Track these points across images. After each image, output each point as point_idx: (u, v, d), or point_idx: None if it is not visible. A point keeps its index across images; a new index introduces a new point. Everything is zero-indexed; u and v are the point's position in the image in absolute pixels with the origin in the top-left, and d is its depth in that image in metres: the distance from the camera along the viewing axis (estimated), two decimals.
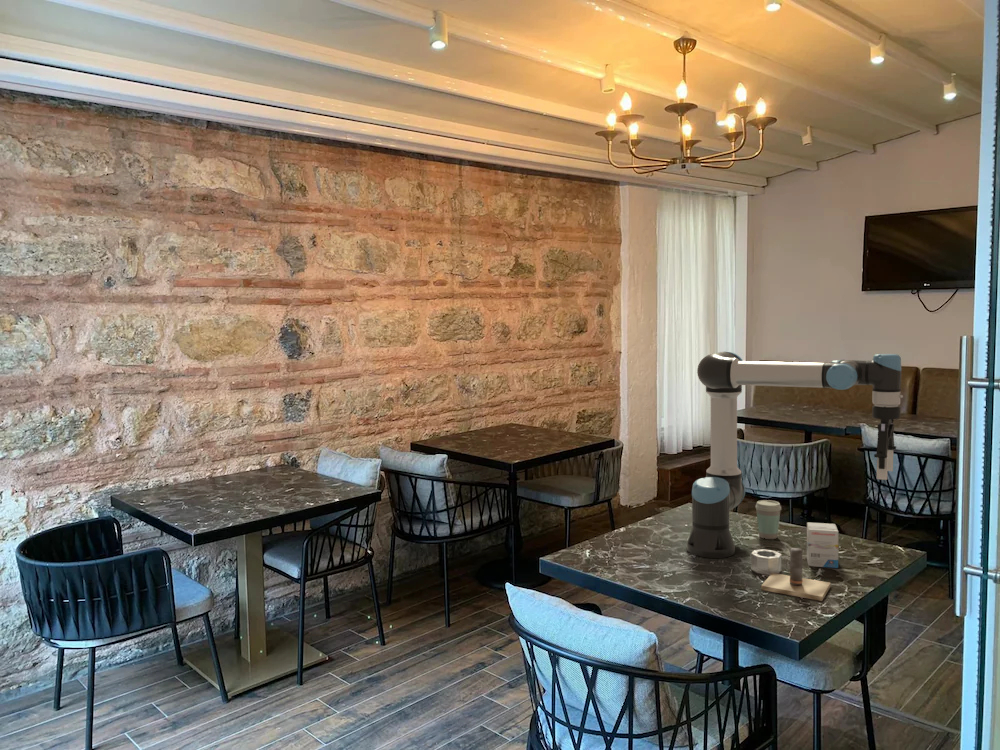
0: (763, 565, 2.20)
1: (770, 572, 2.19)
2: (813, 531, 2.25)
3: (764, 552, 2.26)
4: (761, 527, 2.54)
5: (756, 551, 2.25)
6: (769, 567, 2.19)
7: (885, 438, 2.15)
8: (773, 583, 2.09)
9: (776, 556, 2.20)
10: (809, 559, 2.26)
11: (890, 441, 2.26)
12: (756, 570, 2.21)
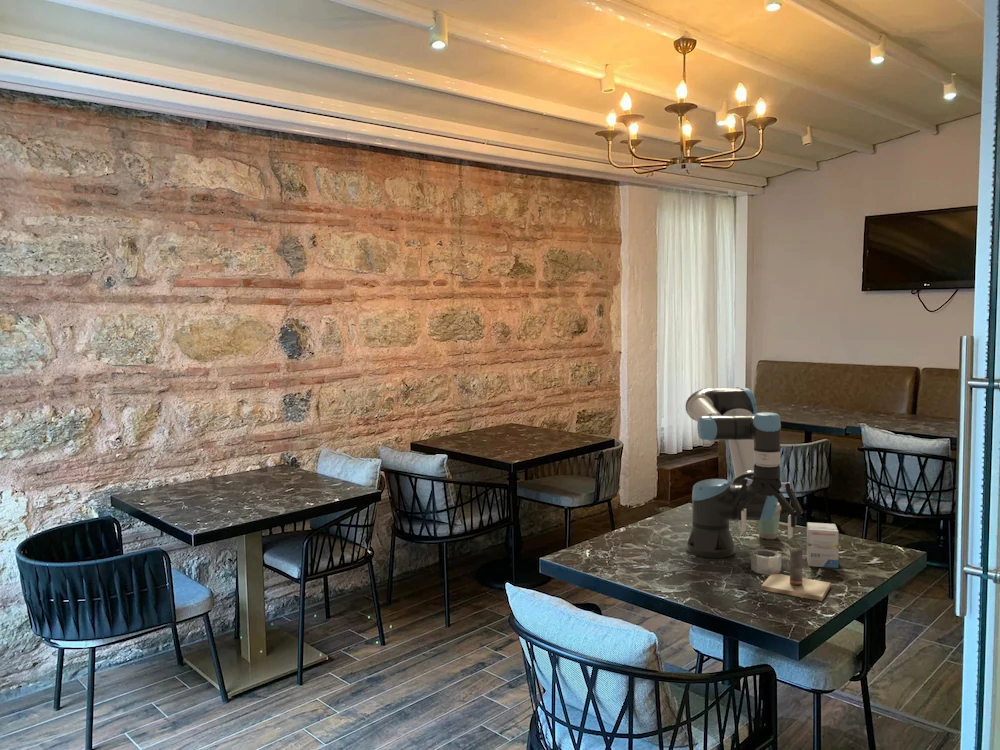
0: (763, 565, 2.20)
1: (770, 572, 2.19)
2: (813, 531, 2.25)
3: (764, 552, 2.26)
4: (761, 527, 2.54)
5: (756, 551, 2.25)
6: (769, 567, 2.19)
7: None
8: (773, 583, 2.09)
9: (776, 556, 2.20)
10: (809, 559, 2.26)
11: None
12: (756, 570, 2.21)
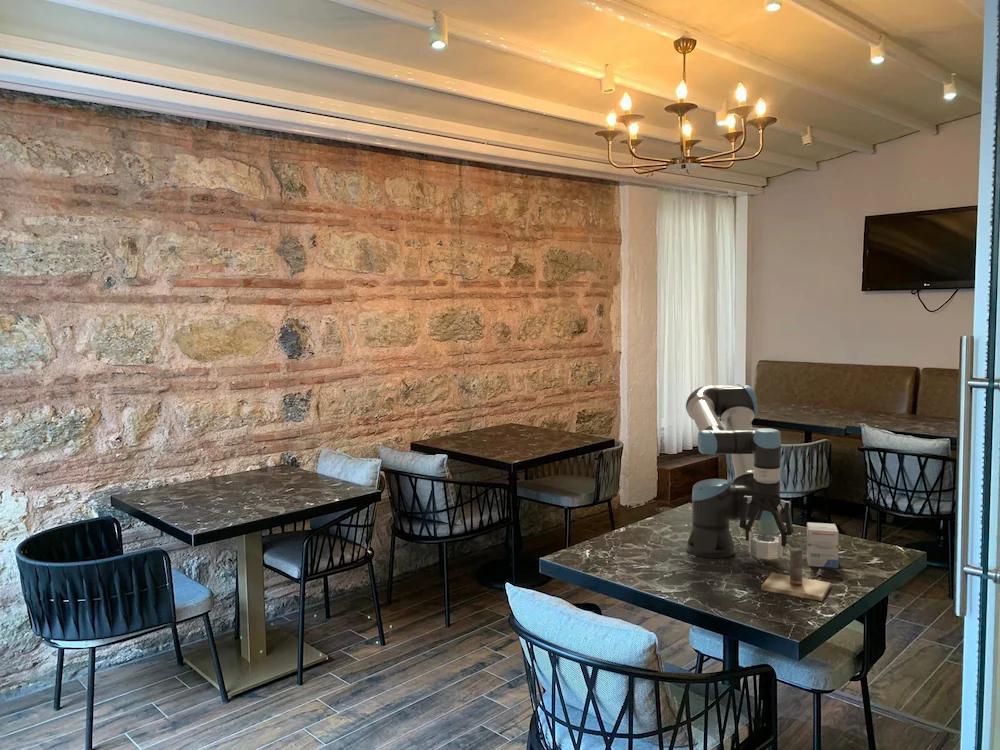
0: (763, 550, 2.20)
1: (769, 557, 2.20)
2: (813, 531, 2.25)
3: (764, 537, 2.26)
4: (761, 527, 2.54)
5: (756, 536, 2.25)
6: (768, 552, 2.19)
7: None
8: (773, 583, 2.09)
9: (776, 541, 2.21)
10: (809, 559, 2.26)
11: None
12: (755, 555, 2.22)
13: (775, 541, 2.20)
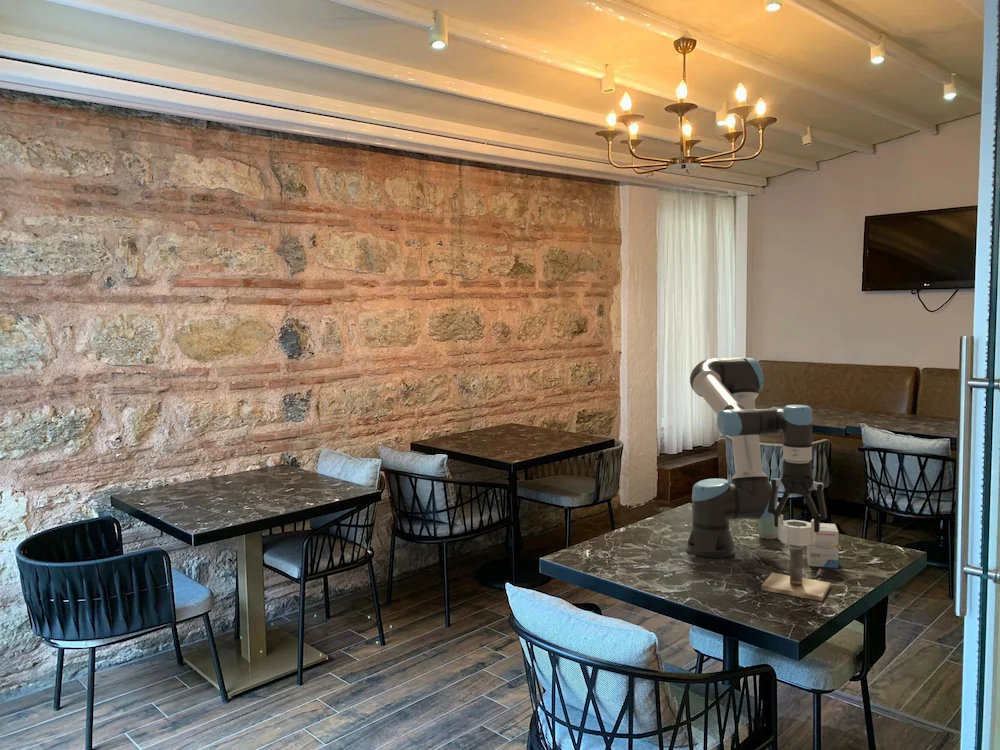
0: (794, 535, 2.03)
1: (801, 543, 2.03)
2: None
3: (794, 523, 2.09)
4: (761, 527, 2.54)
5: (785, 521, 2.09)
6: (800, 538, 2.03)
7: None
8: (773, 583, 2.09)
9: (808, 526, 2.04)
10: (809, 559, 2.26)
11: None
12: (786, 541, 2.05)
13: (807, 526, 2.04)
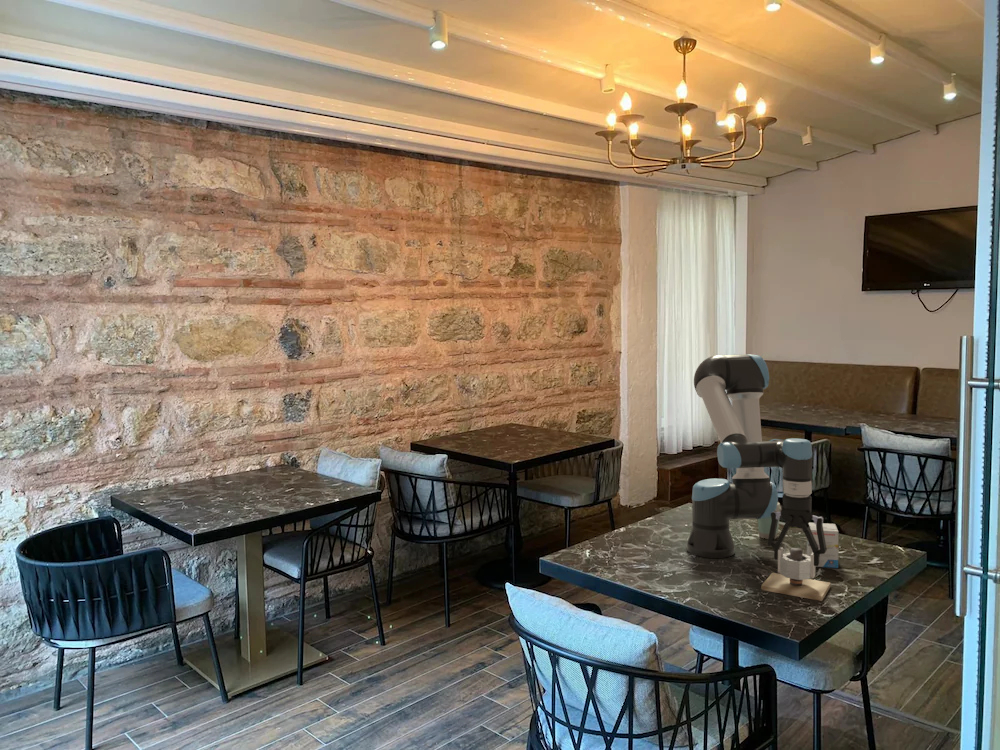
0: (794, 569, 2.04)
1: (801, 577, 2.03)
2: (813, 531, 2.25)
3: None
4: (761, 527, 2.54)
5: (785, 554, 2.10)
6: (800, 571, 2.03)
7: None
8: (773, 583, 2.09)
9: (807, 560, 2.05)
10: None
11: None
12: (786, 575, 2.06)
13: (807, 560, 2.04)
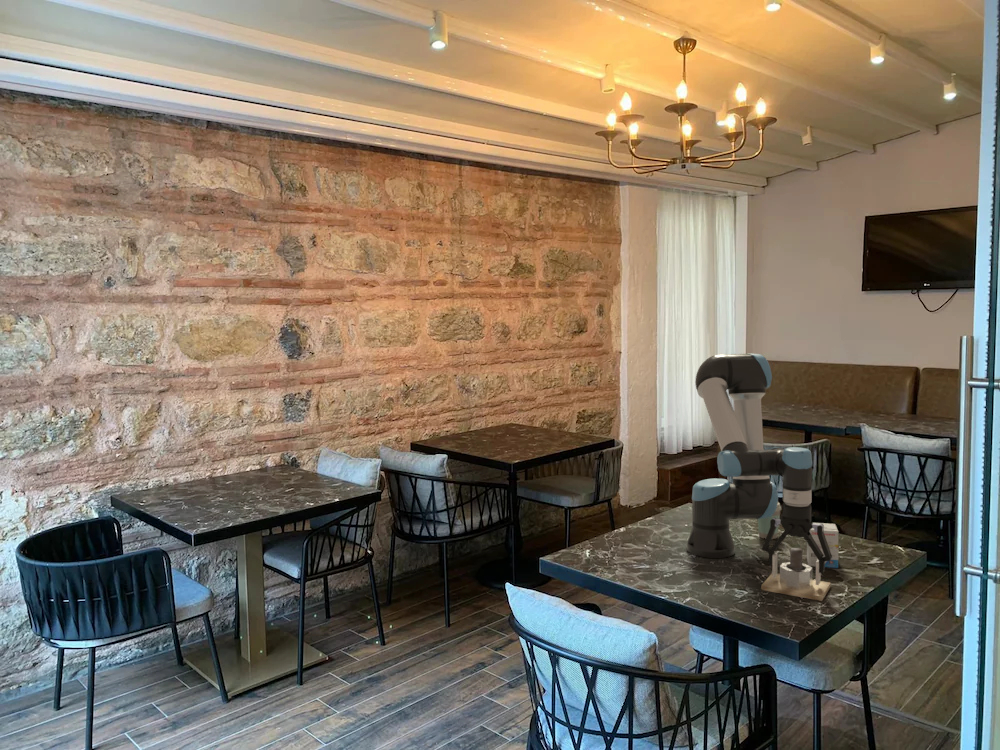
0: (794, 579, 2.04)
1: (801, 587, 2.04)
2: (813, 531, 2.25)
3: None
4: (761, 527, 2.54)
5: (785, 564, 2.10)
6: (800, 582, 2.04)
7: (768, 533, 2.10)
8: (773, 583, 2.09)
9: (807, 570, 2.05)
10: (809, 559, 2.26)
11: None
12: (785, 585, 2.06)
13: (806, 570, 2.05)
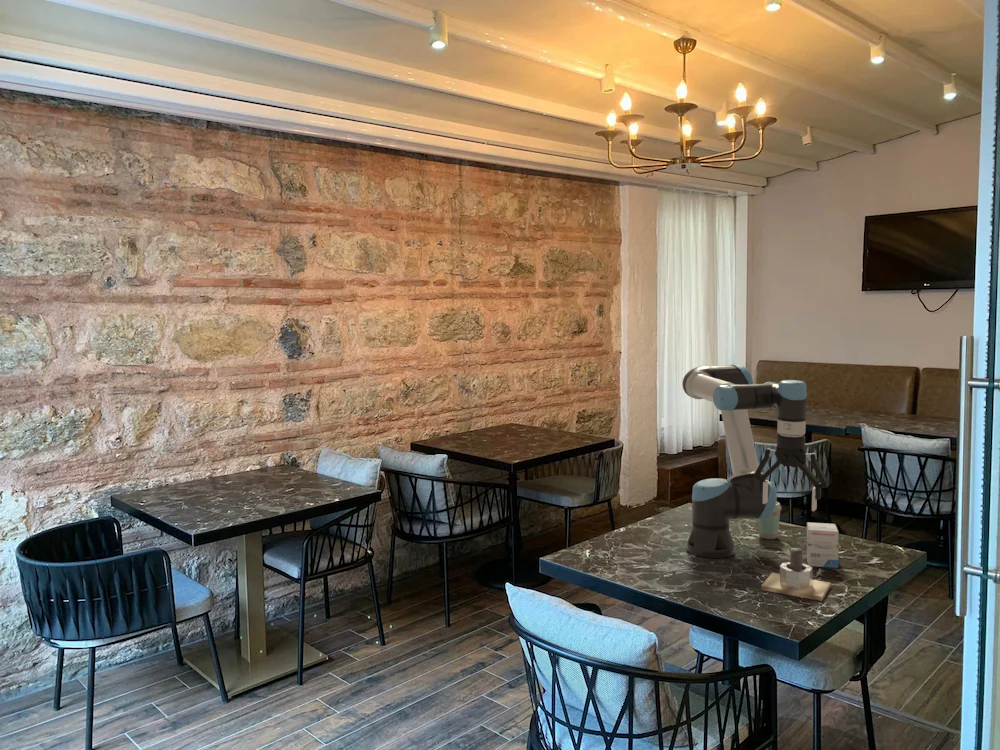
0: (794, 579, 2.04)
1: (801, 587, 2.04)
2: (813, 531, 2.25)
3: None
4: (761, 527, 2.54)
5: (785, 564, 2.10)
6: (800, 582, 2.04)
7: (761, 461, 2.16)
8: (773, 583, 2.09)
9: (807, 570, 2.05)
10: (809, 559, 2.26)
11: None
12: (785, 585, 2.06)
13: (806, 570, 2.05)
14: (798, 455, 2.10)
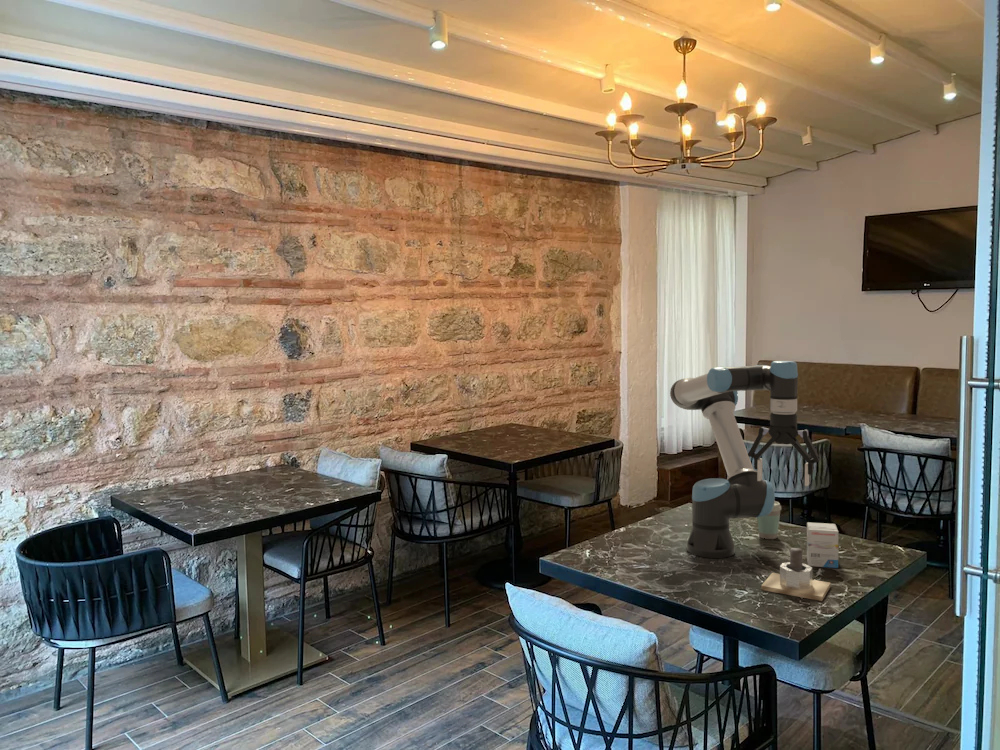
0: (794, 579, 2.04)
1: (801, 587, 2.04)
2: (813, 531, 2.25)
3: None
4: (761, 527, 2.54)
5: (785, 564, 2.10)
6: (800, 582, 2.04)
7: None
8: (773, 583, 2.09)
9: (807, 570, 2.05)
10: (809, 559, 2.26)
11: None
12: (785, 585, 2.06)
13: (806, 570, 2.05)
14: (791, 432, 2.18)
